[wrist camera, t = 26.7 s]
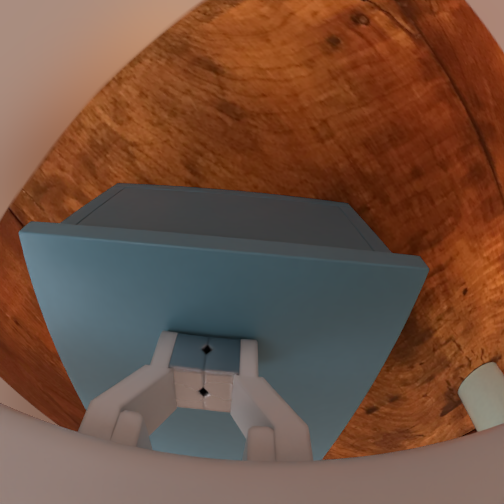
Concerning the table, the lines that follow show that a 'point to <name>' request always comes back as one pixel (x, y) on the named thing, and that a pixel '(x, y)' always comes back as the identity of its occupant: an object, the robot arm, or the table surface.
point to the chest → (229, 215)
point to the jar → (484, 396)
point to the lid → (222, 317)
